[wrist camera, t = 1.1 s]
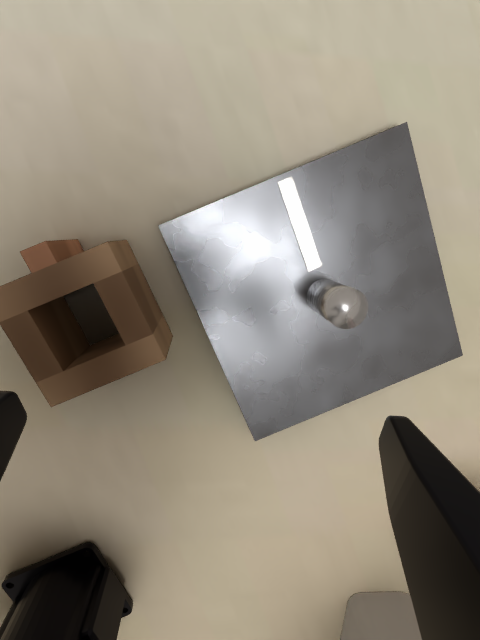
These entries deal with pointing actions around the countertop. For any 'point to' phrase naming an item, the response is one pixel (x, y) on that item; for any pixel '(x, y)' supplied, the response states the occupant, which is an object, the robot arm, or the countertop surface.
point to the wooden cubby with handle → (64, 331)
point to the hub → (319, 282)
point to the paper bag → (380, 617)
